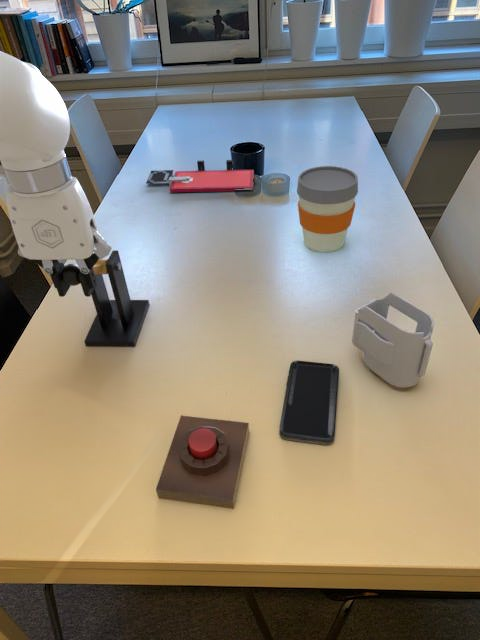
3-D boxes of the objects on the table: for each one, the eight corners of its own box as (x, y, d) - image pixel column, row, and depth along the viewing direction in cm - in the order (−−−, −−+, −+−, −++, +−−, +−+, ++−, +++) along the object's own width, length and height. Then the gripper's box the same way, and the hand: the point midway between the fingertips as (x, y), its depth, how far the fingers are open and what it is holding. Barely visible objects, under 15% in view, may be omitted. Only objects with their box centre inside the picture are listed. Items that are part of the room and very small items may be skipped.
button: (213, 460, 63) (212, 452, 62) (186, 457, 64) (185, 449, 63) (219, 438, 66) (218, 430, 65) (193, 435, 67) (192, 427, 66)
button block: (233, 509, 62) (231, 492, 59) (158, 498, 64) (153, 481, 61) (249, 432, 71) (248, 414, 68) (182, 424, 73) (179, 407, 70)
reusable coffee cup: (306, 223, 116) (308, 162, 107) (359, 232, 112) (366, 169, 102) (287, 250, 108) (287, 186, 98) (343, 261, 103) (349, 195, 94)
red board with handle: (152, 170, 145) (143, 194, 134) (151, 161, 143) (141, 184, 132) (254, 168, 143) (253, 192, 132) (254, 159, 141) (252, 182, 130)
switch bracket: (135, 346, 86) (116, 278, 77) (85, 346, 87) (61, 278, 78) (149, 304, 96) (134, 238, 86) (104, 304, 96) (85, 239, 87)
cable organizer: (371, 341, 84) (380, 284, 76) (431, 383, 76) (448, 324, 68) (343, 358, 81) (349, 301, 74) (402, 403, 73) (416, 345, 66)
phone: (339, 364, 79) (334, 441, 67) (339, 369, 79) (333, 446, 68) (290, 359, 80) (277, 434, 69) (290, 364, 81) (277, 439, 70)
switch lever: (79, 287, 70) (77, 264, 69) (58, 287, 70) (56, 264, 70) (115, 274, 85) (114, 256, 84) (97, 274, 85) (95, 256, 84)
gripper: (-38, 188, 59) (15, 306, 71) (93, 185, 58) (125, 306, 70) (-10, 163, 65) (35, 276, 77) (110, 160, 64) (137, 276, 75)
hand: (77, 290), depth 73 cm, fingers closed on switch lever, 3 cm apart
